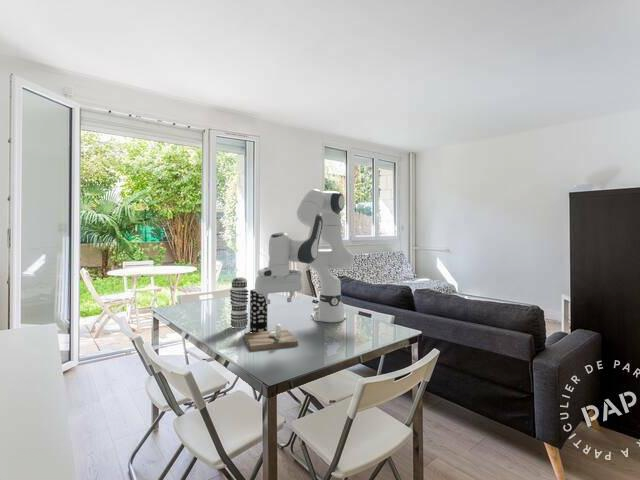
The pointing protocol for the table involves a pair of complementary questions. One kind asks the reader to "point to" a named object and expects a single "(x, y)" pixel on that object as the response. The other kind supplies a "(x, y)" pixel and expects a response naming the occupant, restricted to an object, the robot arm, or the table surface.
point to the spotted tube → (258, 312)
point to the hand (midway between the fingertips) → (278, 302)
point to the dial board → (269, 340)
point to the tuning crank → (277, 333)
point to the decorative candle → (239, 303)
